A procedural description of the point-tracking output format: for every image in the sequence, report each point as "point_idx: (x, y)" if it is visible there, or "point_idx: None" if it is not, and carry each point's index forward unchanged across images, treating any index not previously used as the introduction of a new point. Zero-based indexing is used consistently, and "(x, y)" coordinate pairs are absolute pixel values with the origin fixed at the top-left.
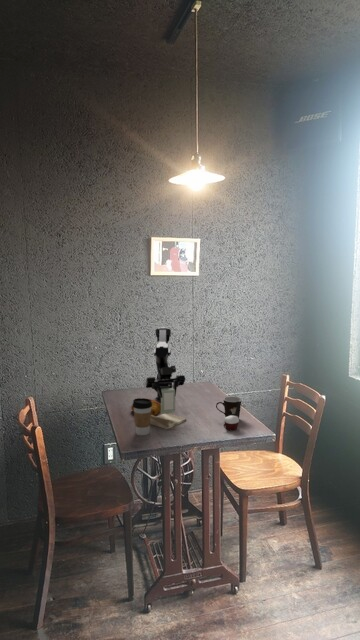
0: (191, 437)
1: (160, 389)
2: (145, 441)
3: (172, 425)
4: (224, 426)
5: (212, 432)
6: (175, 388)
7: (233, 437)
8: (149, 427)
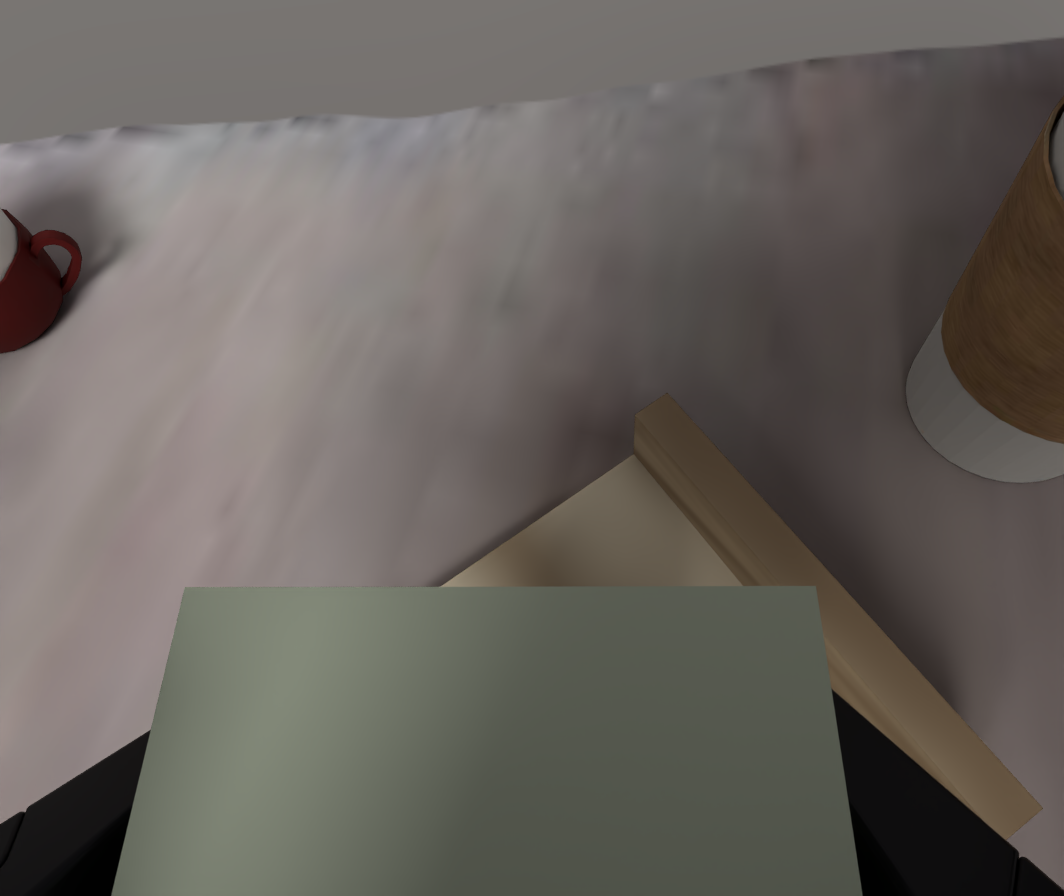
0: (463, 206)
1: (923, 893)
2: (952, 189)
3: (571, 499)
4: (76, 244)
5: (226, 274)
6: (34, 838)
7: (133, 158)
8: (937, 324)
